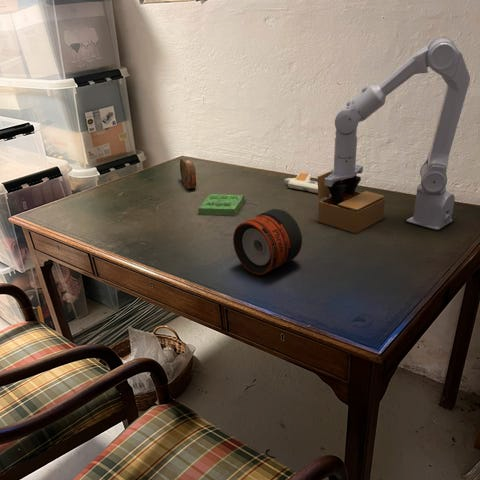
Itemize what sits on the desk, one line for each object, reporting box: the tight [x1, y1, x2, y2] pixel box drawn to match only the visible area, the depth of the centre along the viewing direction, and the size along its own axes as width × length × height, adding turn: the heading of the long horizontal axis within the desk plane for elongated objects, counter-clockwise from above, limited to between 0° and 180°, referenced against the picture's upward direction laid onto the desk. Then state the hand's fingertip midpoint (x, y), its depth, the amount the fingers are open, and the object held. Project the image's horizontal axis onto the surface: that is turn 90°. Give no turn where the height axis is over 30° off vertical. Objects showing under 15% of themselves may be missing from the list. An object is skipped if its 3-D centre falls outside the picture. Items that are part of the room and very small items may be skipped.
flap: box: [317, 170, 342, 200], centre depth 142 cm, size 6×13×1 cm
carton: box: [317, 190, 386, 234], centre depth 141 cm, size 13×13×7 cm
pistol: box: [283, 172, 331, 197], centre depth 167 cm, size 2×20×11 cm
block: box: [333, 193, 353, 210], centre depth 143 cm, size 4×4×4 cm
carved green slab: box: [197, 193, 245, 217], centre depth 157 cm, size 11×12×2 cm
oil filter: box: [232, 208, 303, 276], centre depth 120 cm, size 13×12×13 cm
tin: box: [179, 158, 197, 190], centre depth 175 cm, size 15×3×8 cm, turn 17°
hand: (342, 204), depth 143 cm, fingers closed on block, 4 cm apart
